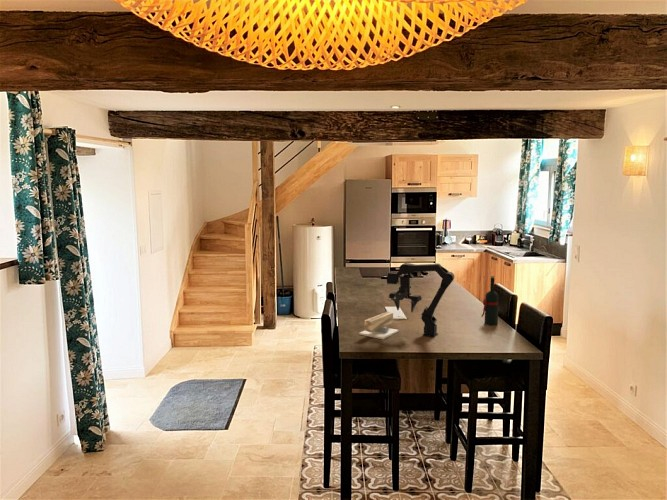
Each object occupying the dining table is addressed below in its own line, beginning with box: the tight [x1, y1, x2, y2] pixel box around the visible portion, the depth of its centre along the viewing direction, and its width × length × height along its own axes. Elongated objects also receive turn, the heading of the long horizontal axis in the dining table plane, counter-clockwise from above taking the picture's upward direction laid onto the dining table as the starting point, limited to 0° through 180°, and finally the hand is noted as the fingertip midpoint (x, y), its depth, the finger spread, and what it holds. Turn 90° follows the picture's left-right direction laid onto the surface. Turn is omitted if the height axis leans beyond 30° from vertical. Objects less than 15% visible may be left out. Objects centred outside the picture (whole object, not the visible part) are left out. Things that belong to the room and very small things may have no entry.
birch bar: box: [364, 311, 394, 332], centre depth 299 cm, size 4×24×6 cm, turn 143°
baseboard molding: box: [384, 305, 409, 321], centre depth 343 cm, size 31×3×12 cm
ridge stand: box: [358, 326, 400, 340], centre depth 300 cm, size 16×18×4 cm
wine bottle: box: [481, 275, 499, 326], centre depth 315 cm, size 8×10×30 cm
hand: (405, 311), depth 299 cm, fingers open, 9 cm apart
